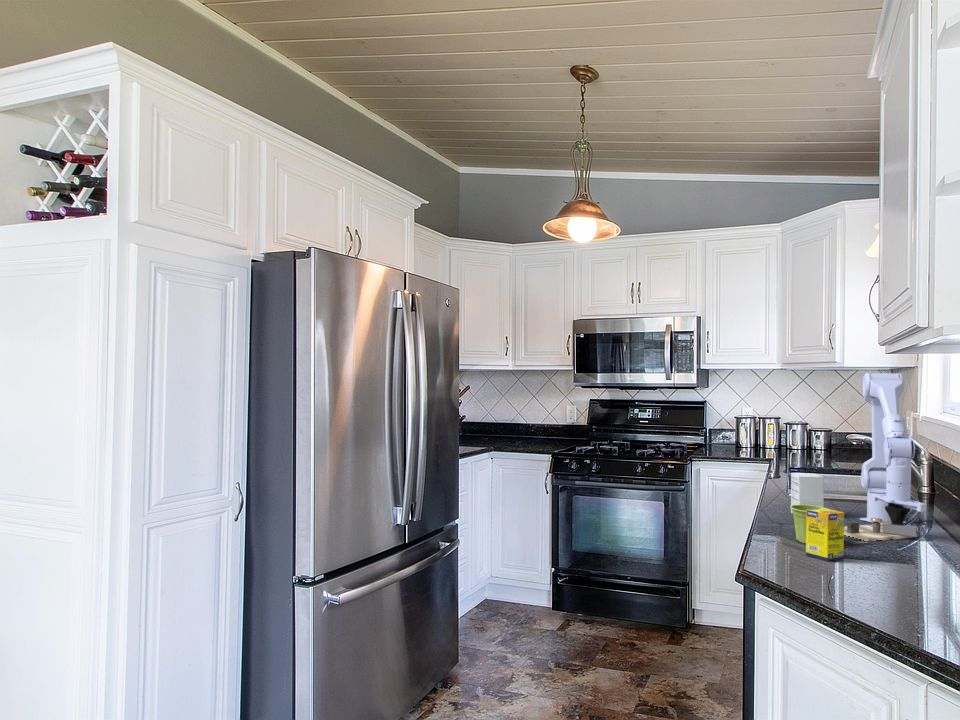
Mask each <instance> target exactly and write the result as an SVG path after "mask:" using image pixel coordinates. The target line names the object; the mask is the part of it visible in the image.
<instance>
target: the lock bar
mask: <svg viewBox="0 0 960 720" xmlns="http://www.w3.org/2000/svg"><path fill="white" fill-rule="evenodd" d="M871 521H873V522H879V523H883V525H882V526H883V533H891V534H899V535H907V536H915V537H914V538H917V537H916V534H917V526H916V525H915V526H914V525H906V524H903V525H900V524H891V523H890V521H884V520H882V519H880V518H871Z"/></svg>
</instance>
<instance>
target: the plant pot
mask: <svg viewBox="0 0 960 720" xmlns="http://www.w3.org/2000/svg"><path fill="white" fill-rule="evenodd" d="M821 508H825V509H829V508H827V507H820V506H813V505H792V506H791V505H790V510H791V509H792V513H793V514H792V513H791V514H792V515H793V523H794V531H795V537H796V541H798V542H799V543H801V542H802V544H806V510H807V509H809V510H811V509H821Z"/></svg>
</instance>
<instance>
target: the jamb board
mask: <svg viewBox="0 0 960 720" xmlns="http://www.w3.org/2000/svg"><path fill="white" fill-rule="evenodd" d="M844 535H846V536H845V537H848V536H850V537H849V538H852V537H854V538H853V539H855V538H858V539H857V540H859V539H861V540H860V541H863V540H864V542H867V541H872V542H877V541H876V540H882V541H891V540H890V539H893V540H903V539H912V538H913V537H914V538H918V533H916V537H915V536H907V535H899V534H891V533H883V525H881V524H880V523H879V522H873V523H872V524H861V525H860V523H859V522H857V521H853V522H850V521H849V522H847V523H846V526H844Z"/></svg>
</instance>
